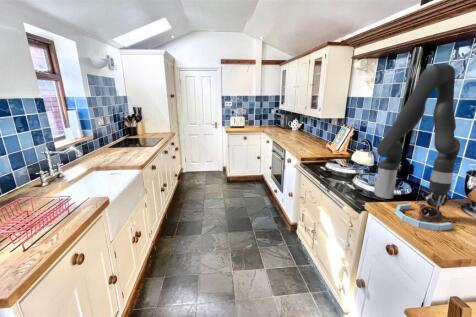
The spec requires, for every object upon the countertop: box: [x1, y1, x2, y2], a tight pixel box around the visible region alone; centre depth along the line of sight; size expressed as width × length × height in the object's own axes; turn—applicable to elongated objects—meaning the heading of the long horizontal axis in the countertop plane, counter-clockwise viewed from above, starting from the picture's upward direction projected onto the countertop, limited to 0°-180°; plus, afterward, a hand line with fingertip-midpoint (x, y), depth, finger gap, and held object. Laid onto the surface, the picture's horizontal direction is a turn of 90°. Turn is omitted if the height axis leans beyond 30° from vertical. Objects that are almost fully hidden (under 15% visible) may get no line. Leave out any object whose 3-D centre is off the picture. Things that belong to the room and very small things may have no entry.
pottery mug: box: [417, 203, 444, 223], centre depth 106 cm, size 12×10×8 cm
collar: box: [394, 203, 453, 231], centre depth 107 cm, size 14×21×2 cm
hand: (434, 213), depth 109 cm, fingers closed
